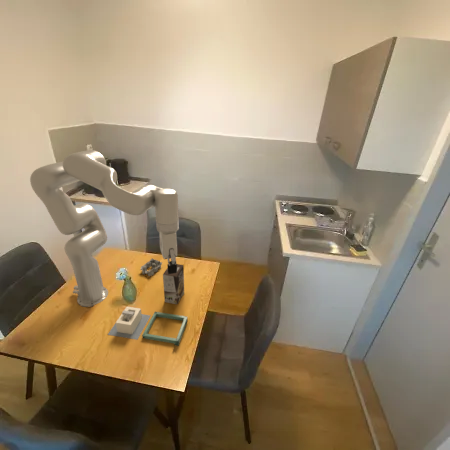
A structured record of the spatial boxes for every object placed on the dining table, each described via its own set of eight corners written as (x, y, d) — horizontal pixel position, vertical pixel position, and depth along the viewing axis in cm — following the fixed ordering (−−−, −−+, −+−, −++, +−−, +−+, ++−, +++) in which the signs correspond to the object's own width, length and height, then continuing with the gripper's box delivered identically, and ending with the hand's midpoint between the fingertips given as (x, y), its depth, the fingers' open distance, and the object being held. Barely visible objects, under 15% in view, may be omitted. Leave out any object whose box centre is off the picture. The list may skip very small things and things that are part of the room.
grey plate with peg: (108, 336, 95) (104, 321, 92) (124, 313, 106) (121, 299, 103) (137, 341, 94) (135, 327, 91) (150, 317, 105) (149, 303, 101)
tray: (142, 339, 95) (142, 335, 94) (155, 316, 105) (154, 311, 104) (178, 345, 93) (178, 341, 92) (187, 321, 104) (187, 316, 103)
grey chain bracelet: (150, 277, 128) (150, 271, 126) (139, 273, 131) (138, 267, 129) (163, 266, 137) (163, 260, 135) (152, 263, 140) (152, 256, 138)
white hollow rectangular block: (132, 334, 95) (130, 325, 93) (117, 331, 96) (115, 322, 94) (142, 317, 103) (140, 308, 101) (128, 315, 104) (126, 306, 101)
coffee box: (177, 306, 111) (176, 277, 104) (164, 303, 112) (162, 274, 105) (184, 292, 119) (184, 264, 112) (172, 290, 120) (170, 262, 113)
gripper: (153, 216, 92) (156, 254, 100) (160, 238, 78) (163, 281, 86) (173, 213, 95) (175, 252, 103) (184, 234, 81) (185, 277, 88)
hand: (170, 265), depth 94 cm, fingers open, 9 cm apart
